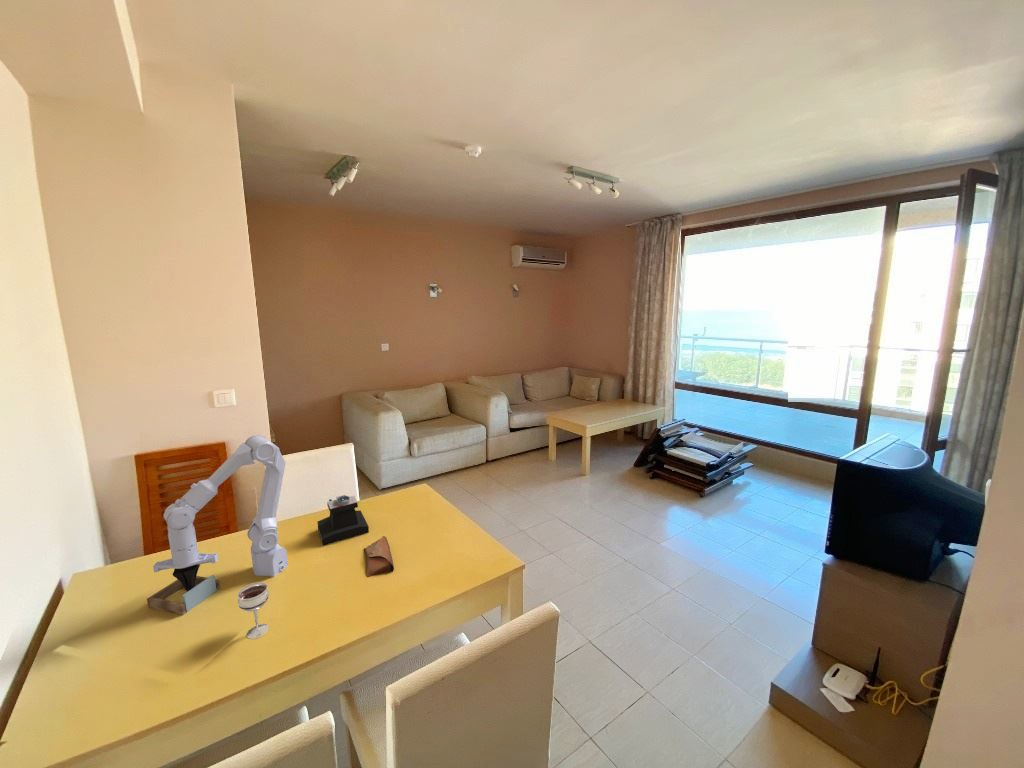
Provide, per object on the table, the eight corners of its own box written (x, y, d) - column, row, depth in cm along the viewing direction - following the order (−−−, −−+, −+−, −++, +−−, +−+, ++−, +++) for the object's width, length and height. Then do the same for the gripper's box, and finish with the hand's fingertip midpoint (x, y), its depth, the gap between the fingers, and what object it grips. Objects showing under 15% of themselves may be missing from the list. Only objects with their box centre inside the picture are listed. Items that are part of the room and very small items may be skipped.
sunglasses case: (362, 547, 143) (371, 530, 144) (380, 552, 146) (389, 536, 147) (366, 578, 127) (377, 559, 127) (387, 583, 130) (397, 564, 131)
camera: (320, 512, 141) (313, 492, 153) (323, 548, 145) (316, 526, 157) (367, 501, 150) (357, 483, 162) (368, 535, 153) (359, 515, 165)
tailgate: (216, 590, 120) (214, 575, 119) (187, 612, 111) (184, 595, 110) (214, 590, 120) (212, 575, 119) (184, 611, 111) (182, 595, 110)
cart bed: (220, 591, 121) (218, 579, 120) (183, 618, 110) (181, 605, 110) (188, 585, 124) (186, 573, 123) (149, 611, 113) (146, 598, 112)
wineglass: (266, 617, 111) (262, 578, 109) (277, 629, 107) (272, 589, 105) (238, 632, 106) (232, 591, 104) (247, 646, 102) (242, 603, 99)
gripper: (219, 533, 119) (225, 575, 121) (159, 541, 115) (167, 584, 117) (209, 546, 112) (216, 590, 115) (145, 556, 108) (154, 601, 111)
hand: (190, 588), depth 116 cm, fingers closed
